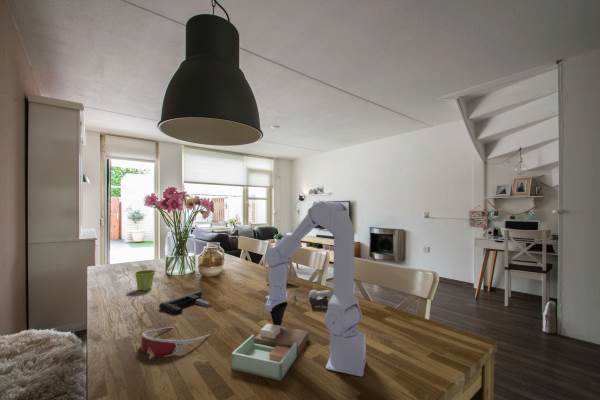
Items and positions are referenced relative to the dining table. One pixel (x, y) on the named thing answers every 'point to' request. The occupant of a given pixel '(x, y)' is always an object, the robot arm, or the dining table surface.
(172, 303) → the door handle
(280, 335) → the walnut plate
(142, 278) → the plant pot
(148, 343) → the sunglasses
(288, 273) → the seashell
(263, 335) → the white tile
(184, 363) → the dining table surface
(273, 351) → the terracotta tile
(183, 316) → the dining table surface
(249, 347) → the green bin
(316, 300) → the clip-on lamp
